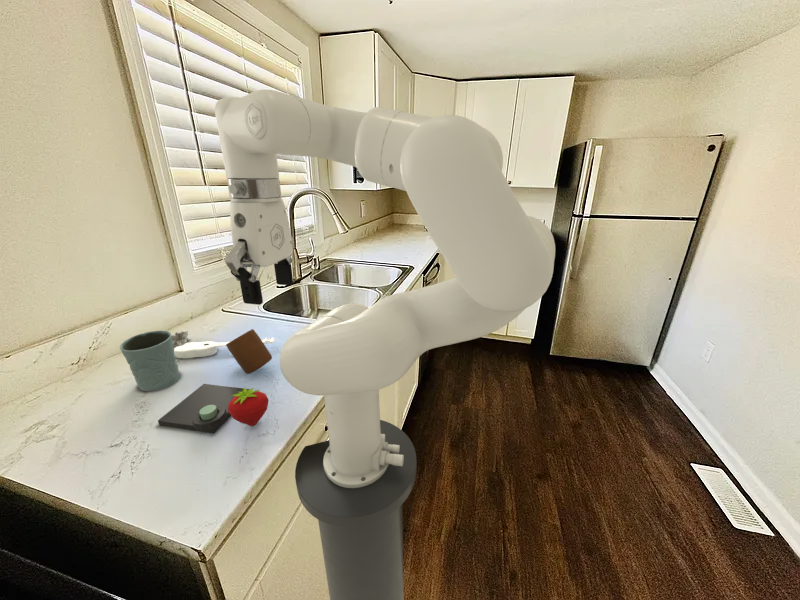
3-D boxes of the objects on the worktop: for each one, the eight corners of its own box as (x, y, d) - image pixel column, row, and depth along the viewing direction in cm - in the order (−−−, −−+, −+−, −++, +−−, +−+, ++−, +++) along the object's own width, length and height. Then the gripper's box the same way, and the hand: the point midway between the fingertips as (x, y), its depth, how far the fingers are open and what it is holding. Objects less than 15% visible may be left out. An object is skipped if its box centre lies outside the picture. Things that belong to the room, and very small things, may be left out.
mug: (238, 377, 89) (218, 349, 87) (262, 361, 94) (243, 333, 92) (251, 374, 80) (229, 342, 78) (277, 356, 85) (257, 326, 83)
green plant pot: (171, 366, 89) (159, 327, 85) (191, 377, 84) (179, 336, 80) (127, 385, 81) (111, 343, 77) (146, 399, 76) (130, 354, 72)
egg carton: (162, 342, 102) (159, 331, 100) (190, 338, 105) (188, 326, 103) (157, 359, 93) (153, 347, 91) (187, 353, 96) (184, 341, 94)
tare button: (220, 411, 68) (219, 405, 67) (210, 421, 65) (208, 415, 65) (208, 409, 68) (206, 403, 68) (197, 419, 66) (195, 413, 65)
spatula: (277, 343, 101) (276, 335, 100) (273, 352, 96) (272, 344, 95) (180, 351, 97) (178, 342, 96) (170, 360, 92) (168, 351, 91)
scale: (256, 394, 77) (254, 383, 76) (214, 438, 64) (211, 426, 63) (205, 388, 80) (202, 378, 79) (155, 429, 67) (151, 417, 66)
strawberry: (272, 431, 66) (264, 390, 62) (231, 440, 64) (220, 398, 60) (272, 412, 71) (265, 373, 68) (235, 420, 69) (225, 380, 65)
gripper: (240, 195, 42) (260, 314, 49) (303, 188, 58) (312, 280, 64) (191, 193, 44) (216, 310, 50) (265, 188, 59) (278, 277, 66)
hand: (270, 293), depth 57 cm, fingers open, 9 cm apart
